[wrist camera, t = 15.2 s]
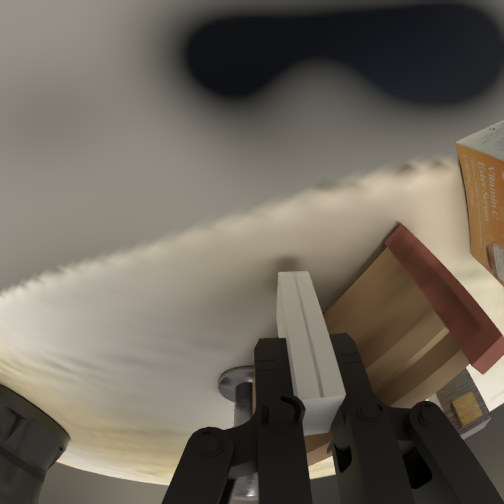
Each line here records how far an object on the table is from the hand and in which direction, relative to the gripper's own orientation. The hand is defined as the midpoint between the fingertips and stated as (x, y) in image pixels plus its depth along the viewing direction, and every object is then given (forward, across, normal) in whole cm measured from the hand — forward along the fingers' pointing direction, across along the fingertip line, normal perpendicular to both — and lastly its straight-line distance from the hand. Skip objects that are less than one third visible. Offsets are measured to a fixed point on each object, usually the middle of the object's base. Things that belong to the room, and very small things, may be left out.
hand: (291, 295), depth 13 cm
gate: (+1, +2, -3) cm, 4 cm away
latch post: (+2, +12, -7) cm, 14 cm away
